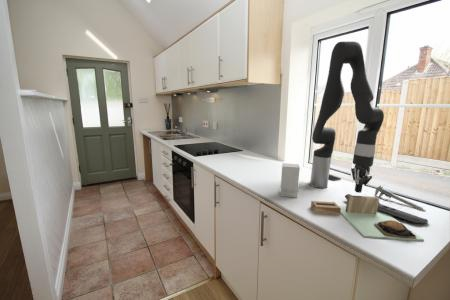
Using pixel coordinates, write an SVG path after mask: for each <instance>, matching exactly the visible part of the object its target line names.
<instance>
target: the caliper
mask: <svg viewBox="0 0 450 300" xmlns="http://www.w3.org/2000/svg"><path fill="white" fill-rule="evenodd" d="M379 192H380V193H379ZM378 193H379V195H378ZM377 195H378V196H377ZM383 195H384V196H386V197H387V198H389V199H391V198H393V199H395V200H396V201H399V202H401V203H404V204H405V205H407V206H410V207H412V208H413V209H416V210H420V211H422V212H427V211H426V209H424V207H422V206H420V205H418V204H416V203H413V202H411V201H409V200H407V199H405V198H403V197H401V196H398V195H396V194H394V193H393V192H391V191H389V190H387V189H385V188H384V186H382V185H379V186H377V187H376V189H375V192H374V197H378V198H381V197H382V196H383Z"/></svg>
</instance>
